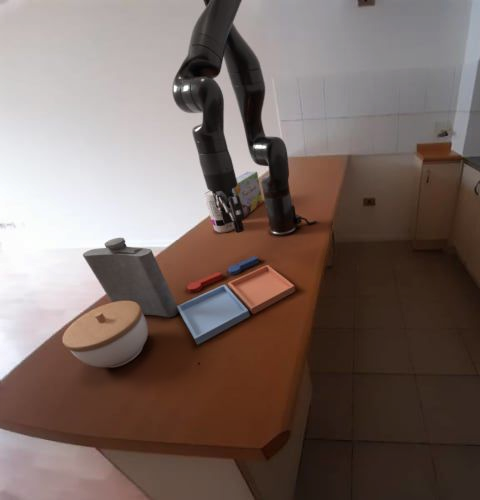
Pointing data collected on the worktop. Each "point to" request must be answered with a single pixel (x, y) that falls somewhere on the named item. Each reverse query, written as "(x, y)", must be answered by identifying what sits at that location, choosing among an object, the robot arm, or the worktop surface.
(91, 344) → the lidded bowl
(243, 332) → the worktop surface
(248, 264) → the blue spoon
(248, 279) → the orange tray
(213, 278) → the red spoon
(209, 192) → the supplement can
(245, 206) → the snack box
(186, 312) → the blue tray
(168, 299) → the hip flask
